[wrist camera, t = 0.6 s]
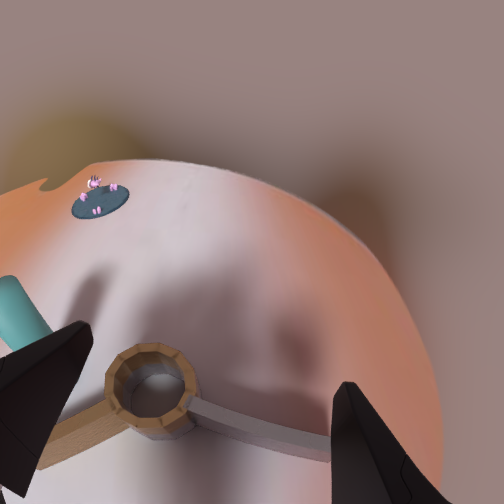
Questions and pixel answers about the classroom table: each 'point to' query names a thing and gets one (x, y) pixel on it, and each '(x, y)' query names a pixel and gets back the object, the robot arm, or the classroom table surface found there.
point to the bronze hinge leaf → (120, 406)
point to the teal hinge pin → (19, 316)
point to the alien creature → (99, 200)
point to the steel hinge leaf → (233, 422)
